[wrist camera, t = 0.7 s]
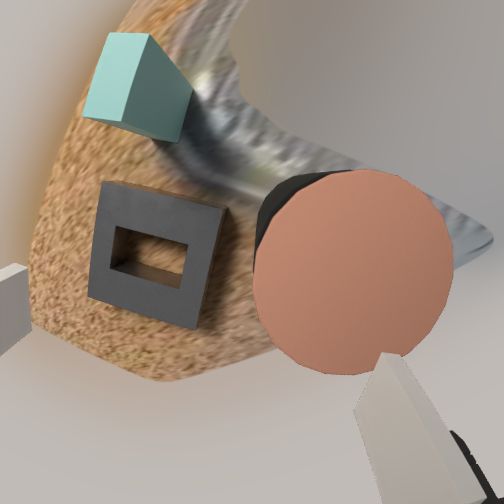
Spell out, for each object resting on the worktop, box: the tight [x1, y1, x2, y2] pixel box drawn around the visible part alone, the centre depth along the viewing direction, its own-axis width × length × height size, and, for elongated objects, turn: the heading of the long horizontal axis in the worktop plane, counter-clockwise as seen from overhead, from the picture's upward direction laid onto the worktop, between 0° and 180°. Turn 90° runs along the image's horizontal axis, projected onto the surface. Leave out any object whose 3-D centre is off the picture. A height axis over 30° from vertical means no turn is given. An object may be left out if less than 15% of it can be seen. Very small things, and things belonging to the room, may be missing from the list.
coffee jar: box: [252, 169, 453, 375], centre depth 23 cm, size 11×11×18 cm
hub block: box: [88, 181, 227, 330], centre depth 31 cm, size 12×12×4 cm
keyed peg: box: [82, 33, 193, 143], centre depth 23 cm, size 6×3×14 cm, turn 165°
